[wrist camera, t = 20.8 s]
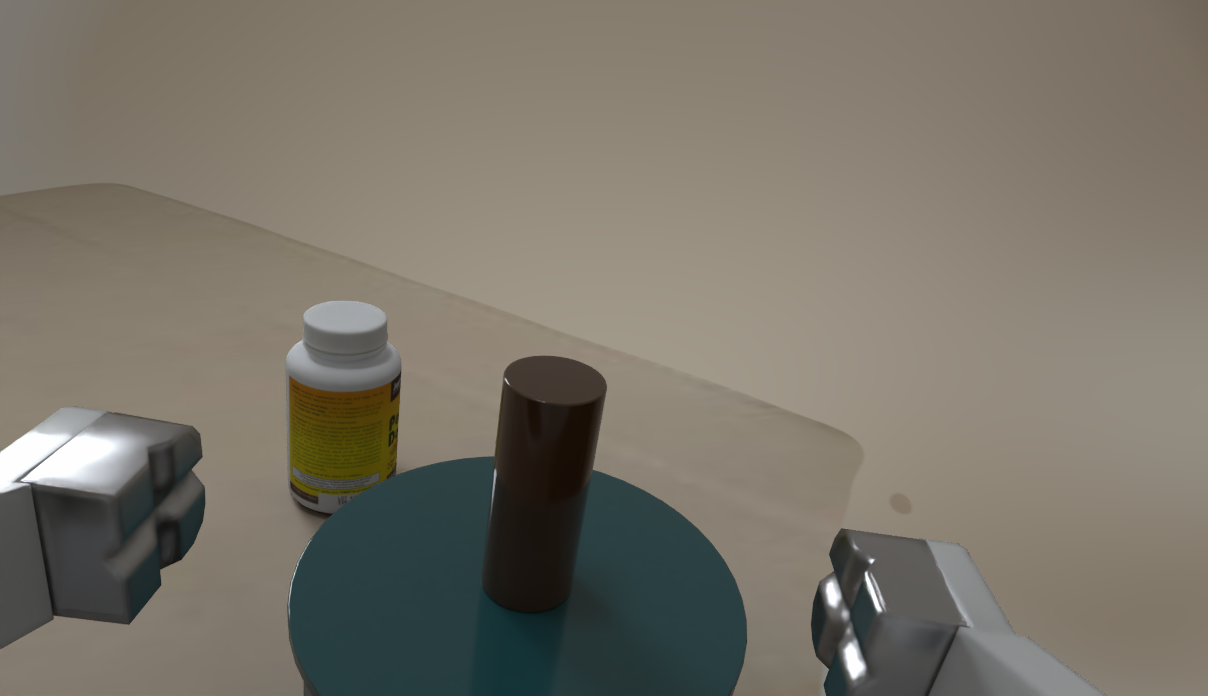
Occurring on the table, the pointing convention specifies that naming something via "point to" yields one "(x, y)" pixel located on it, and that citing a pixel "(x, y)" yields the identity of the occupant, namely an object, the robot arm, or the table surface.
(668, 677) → the lid
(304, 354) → the supplement bottle
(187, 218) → the table surface
